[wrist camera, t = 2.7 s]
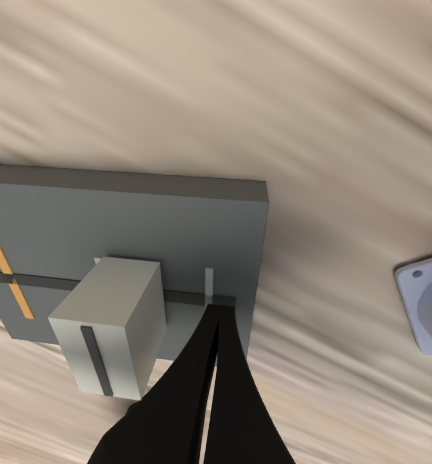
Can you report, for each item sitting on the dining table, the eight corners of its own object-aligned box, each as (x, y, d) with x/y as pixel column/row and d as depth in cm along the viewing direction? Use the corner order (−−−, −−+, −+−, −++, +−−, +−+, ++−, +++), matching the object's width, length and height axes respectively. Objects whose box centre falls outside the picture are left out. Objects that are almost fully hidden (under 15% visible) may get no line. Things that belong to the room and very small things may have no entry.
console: (265, 181, 13) (268, 203, 10) (245, 332, 19) (244, 371, 16) (-22, 163, 15) (-84, 178, 12) (42, 307, 21) (10, 339, 18)
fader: (159, 262, 12) (122, 329, 9) (166, 329, 15) (140, 402, 11) (103, 256, 13) (45, 319, 9) (119, 323, 15) (79, 393, 12)
